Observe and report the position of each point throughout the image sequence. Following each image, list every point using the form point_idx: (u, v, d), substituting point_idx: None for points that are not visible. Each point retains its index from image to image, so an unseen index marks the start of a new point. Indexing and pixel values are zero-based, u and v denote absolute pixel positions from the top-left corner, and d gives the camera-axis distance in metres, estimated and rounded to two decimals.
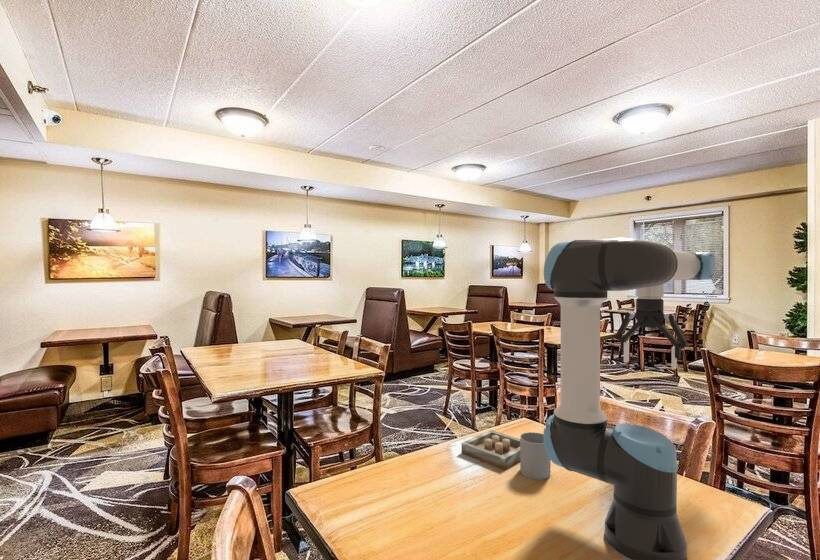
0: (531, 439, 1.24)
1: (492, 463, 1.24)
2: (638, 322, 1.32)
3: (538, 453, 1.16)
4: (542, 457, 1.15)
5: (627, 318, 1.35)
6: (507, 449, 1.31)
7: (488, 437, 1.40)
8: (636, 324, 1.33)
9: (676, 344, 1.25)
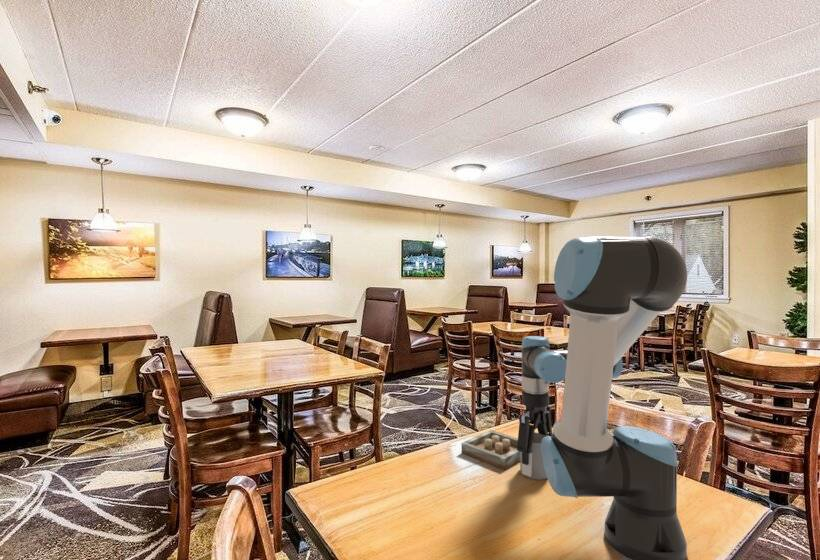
0: None
1: (492, 463, 1.24)
2: None
3: (538, 453, 1.16)
4: None
5: None
6: (507, 449, 1.31)
7: (488, 437, 1.40)
8: None
9: None
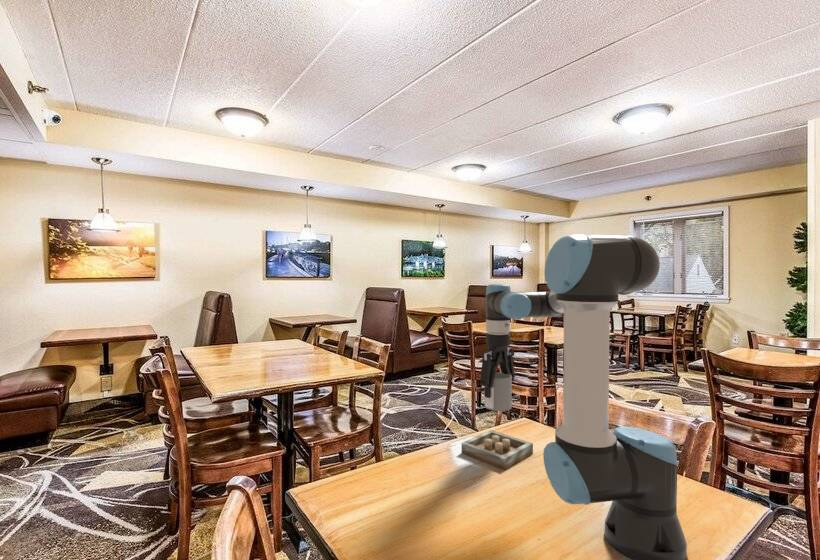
0: None
1: (492, 463, 1.24)
2: None
3: (499, 387, 1.28)
4: (503, 391, 1.28)
5: None
6: (507, 449, 1.31)
7: (488, 437, 1.40)
8: None
9: None
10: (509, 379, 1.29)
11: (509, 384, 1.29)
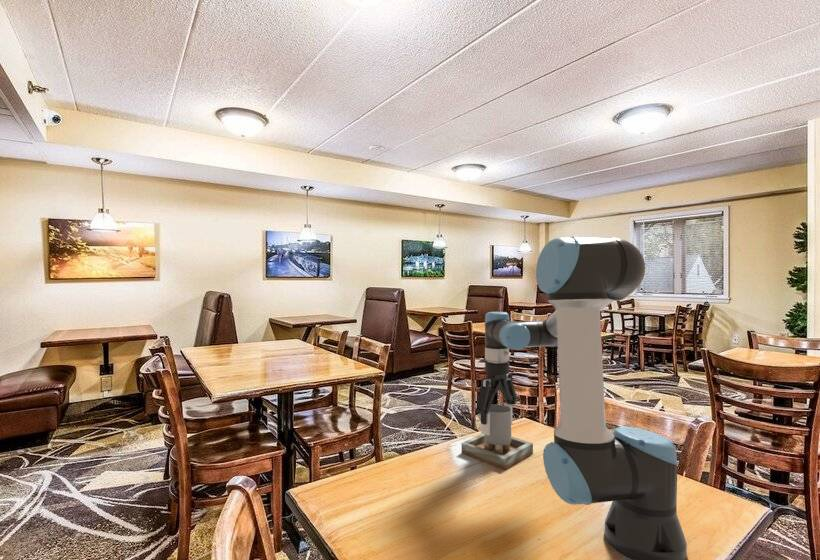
0: (494, 410, 1.37)
1: (492, 463, 1.24)
2: None
3: (499, 421, 1.29)
4: (502, 425, 1.28)
5: None
6: (507, 449, 1.31)
7: None
8: None
9: None
10: (509, 413, 1.30)
11: (509, 418, 1.30)
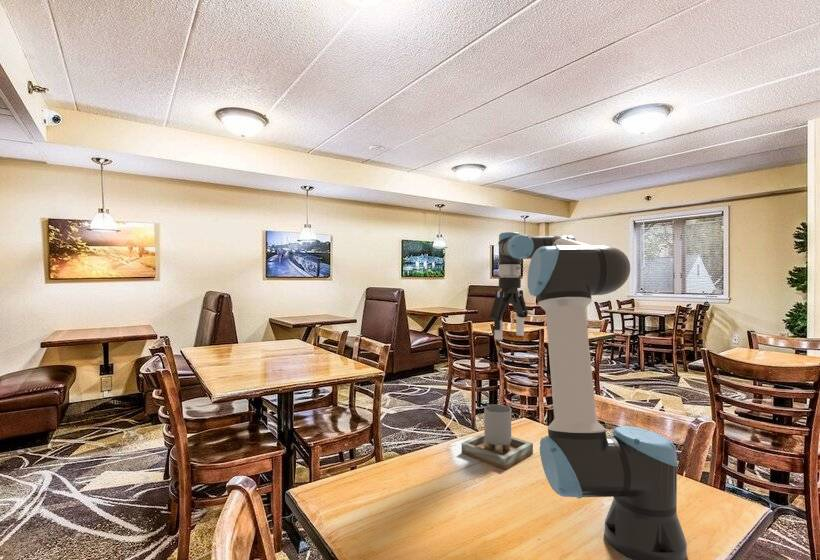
0: (494, 410, 1.37)
1: (492, 463, 1.24)
2: None
3: (499, 421, 1.29)
4: (502, 425, 1.28)
5: None
6: (507, 449, 1.31)
7: None
8: None
9: None
10: (509, 413, 1.30)
11: (509, 418, 1.30)
